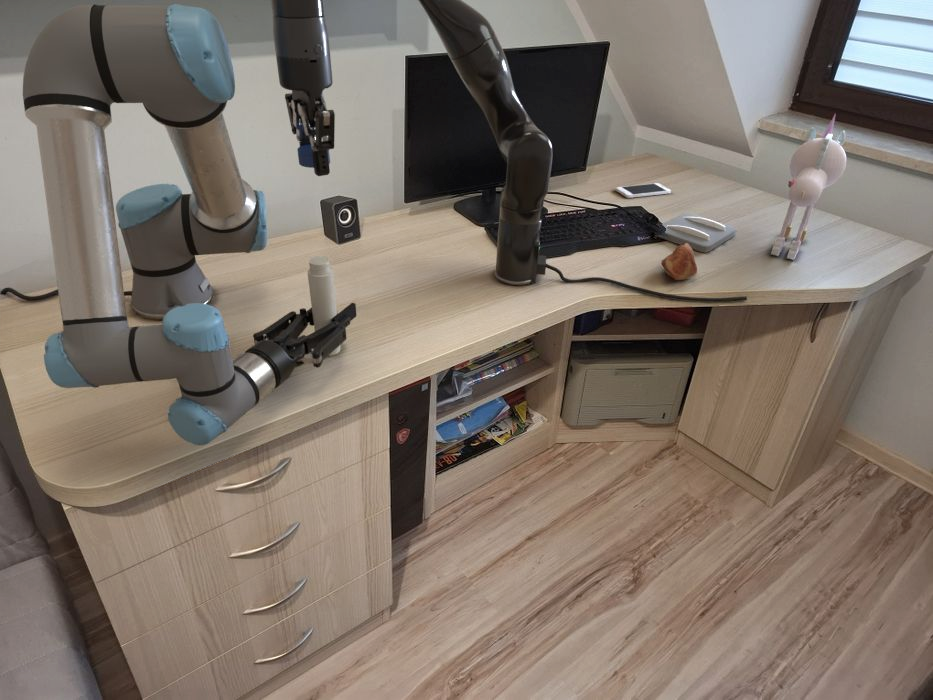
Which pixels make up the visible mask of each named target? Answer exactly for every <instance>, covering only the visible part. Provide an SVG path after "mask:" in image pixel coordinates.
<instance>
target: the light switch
mask: <svg viewBox="0 0 933 700" xmlns="http://www.w3.org/2000/svg"><path fill="white" fill-rule="evenodd" d="M661 224H662V225H663V226H664V227H665V228H666V231H665V234H667V235H668V237H665V236H662V235H658V236H657V235H654V236H655V237H657V238H659V239H663V240H665V241H669V242H671V243H674V244H677V245H679V246H680V245H684V244H685V243H688V244H689V245H690V246H691V248H692V250H694V251H697V252H699V253H709V252H711V251H712V250H714V249H716V248H717V247H719V246H720V245H722V244H724V243H725V242H727V241H730V239H732V238H734V237H736V234H737V228H736V227H734V226H732V225H729V224H725V223H722V222H719V221H716V220H713V219H710V218H707V217H703V216H700V215H697V214H694V213H690V212H683V213H682V214H679V215H677V216H675V217H673V218H671V219H669V220H668V221H666V222H663V223H661Z"/></svg>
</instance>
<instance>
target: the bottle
mask: <svg viewBox="0 0 933 700" xmlns="http://www.w3.org/2000/svg"><path fill="white" fill-rule="evenodd" d="M308 264H309V265H308V266H309V267H308V269H307V280H308V287H309V288H308V289H309V295H310V305H311V308H312V313H313V321H314V326H313V328H314V332H315V331H317V330H319V329H321V328H323V327H324V326H326V325H328V324H330V323H332V318H333V317H334V316H336V315H337V314H338V308H337V306H338V305H337V298H336V287H335V276H334V269H333V267H331V260H330V259H329V257H326V256H321V255H319V256H314V257H312V258H310V259H309V260H308ZM341 349H342V347H341V345H340V346H338V347H337V348H336V349H335V350H334V351H333V352H332V353H331V354H329V355H328V356H327V357H333V356H336V355H337V354H338V353H340V351H342V350H341Z"/></svg>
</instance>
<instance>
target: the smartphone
mask: <svg viewBox="0 0 933 700" xmlns="http://www.w3.org/2000/svg"><path fill="white" fill-rule="evenodd" d="M615 192H617V193H619V194H620V195H622V196H624V197H625V198H628V199H630V198H639V197H640V198H641V197H649V196H656V195H657V196H659V195H665V194H671V192H672V190H671V189H670V188H668V187H666V186H664V185H663V184H661V183H658V182H654V183H645V184H644V183H643V184H636V185H634V184H633V185H626V186H617V187H615Z"/></svg>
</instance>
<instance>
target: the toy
mask: <svg viewBox="0 0 933 700" xmlns="http://www.w3.org/2000/svg"><path fill="white" fill-rule="evenodd" d="M836 116H837V115H836V112H835V113H834V115H833V116H832V119H831V120H830V122H829V124H828V126H827V128H826V130H825V131H824V133H823V134H822V136H821V137H817V138H816V136H817V128H815V127H810V129H809V130H808V133H807V135H806V136H805V142H804V143H802V144H801V145H800V146H798V148H797V149H796V150H795V151H794V152H793V154H792V156H791V159H790V162H789V173H790V175H791V178H792V180H789V181H788V188H789V189H788V198H789V201H790V202H789V205H788V209H787V212H786V215H785V218H784V221H783V223H782V227H781V230H780V233H779V235H777V236H776V239H775V241H774V243H773V246H772V249H771V253H770V255H772V256H776V257H779V255H780V253H781V252H782V249H783V248H784V246H785V242H786V240H789V238H790V234H791V232H792V227H793V225H792V223H793V219H794V217H795V213H796V211H797V208H798V207H801V208H802V207H804V208H805V210H804V213H803V216H802V219H801V222H800V225H799V227H798V230H797V233H796V237H795V239H793V240H792V242H791V245H790V247H789V250H788V253H787V256H786V259H788V260H792V261H794V260H795V259H796V257H797V255H798V253H799V251H800V249H801V245H802V244H803V243H804V240H805V238H806V235H807V231H808V228H807V227H808V224H809V221H810V218H811V215H812V212H813V209H814V207H815V204H816V202H817V201H818V200H819V199H820V197H821V195H822V193H823V191H824V189H827V188H828V187H831V186H832V185H834V184H835V183H836V182H837V181H838V180H840V178H841V177H842V176H843V174H844V173H845V170H846V168H847V167H846V166H847V154H846V152H845V150H844V148H843V145H844V143H845V141H846V140H847V134H846V131H845V130H840V131H839V132H838V133H837V135H836V137H835V139H833V129H834V125H835V120H836ZM841 135H842V138H841V141H840V137H841Z"/></svg>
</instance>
